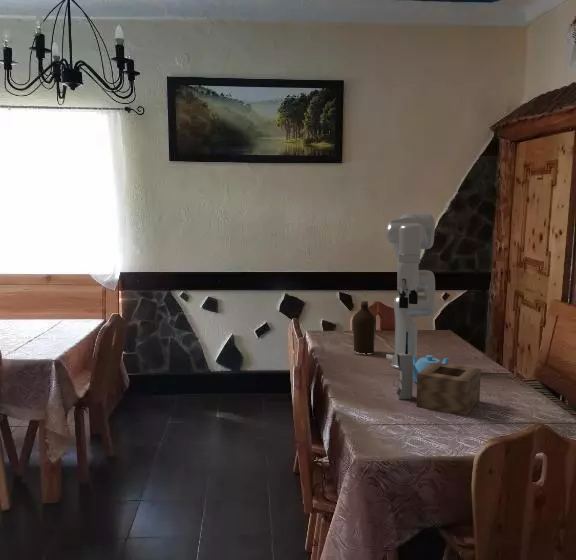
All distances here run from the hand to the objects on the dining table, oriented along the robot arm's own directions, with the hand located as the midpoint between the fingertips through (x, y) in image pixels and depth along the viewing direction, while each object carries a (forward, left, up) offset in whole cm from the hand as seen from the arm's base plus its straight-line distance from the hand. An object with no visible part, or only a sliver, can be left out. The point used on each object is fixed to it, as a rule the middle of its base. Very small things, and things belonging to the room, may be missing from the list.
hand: (408, 306), depth 217 cm
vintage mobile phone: (-1, -1, -35) cm, 35 cm away
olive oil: (-41, +50, -35) cm, 73 cm away
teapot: (0, +23, -35) cm, 42 cm away
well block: (+15, +1, -35) cm, 38 cm away
